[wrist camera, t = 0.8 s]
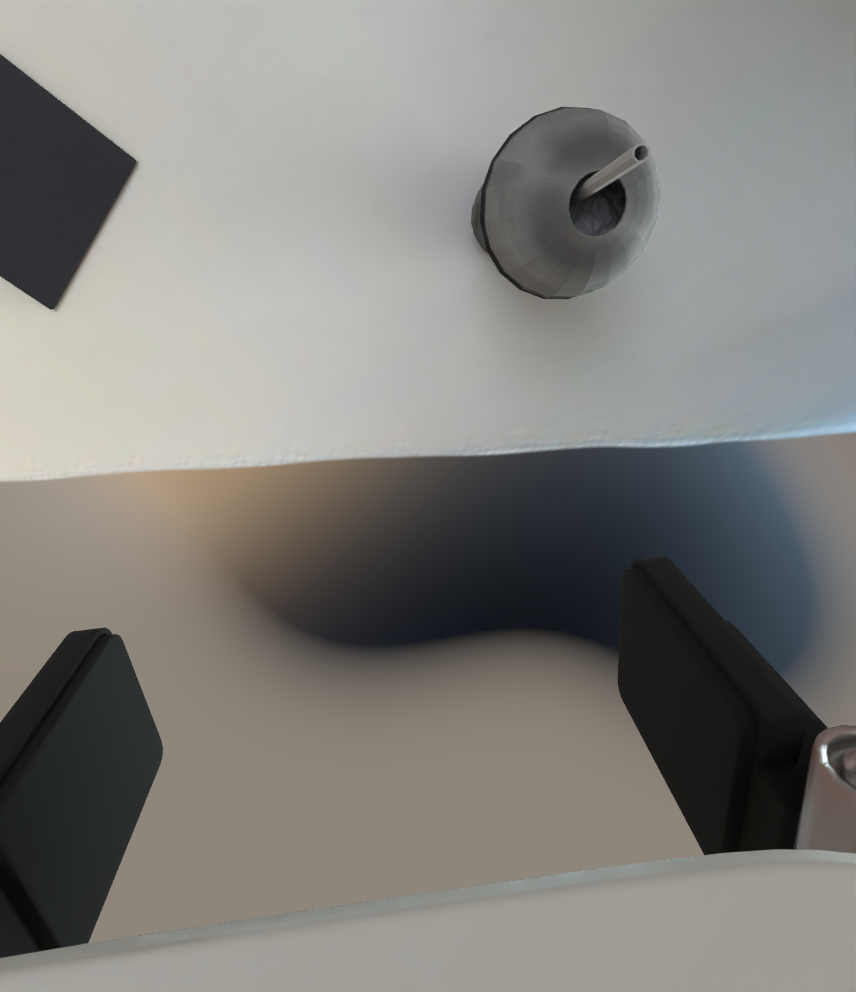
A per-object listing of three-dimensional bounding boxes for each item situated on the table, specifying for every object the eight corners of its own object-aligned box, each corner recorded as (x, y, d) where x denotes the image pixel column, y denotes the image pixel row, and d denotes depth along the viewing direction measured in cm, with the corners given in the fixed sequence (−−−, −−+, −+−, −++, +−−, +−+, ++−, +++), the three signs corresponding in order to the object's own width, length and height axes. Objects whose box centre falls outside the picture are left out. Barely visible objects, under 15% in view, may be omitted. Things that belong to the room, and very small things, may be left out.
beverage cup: (477, 302, 37) (578, 367, 19) (427, 184, 34) (488, 124, 16) (584, 247, 36) (799, 259, 18) (542, 121, 33) (747, -17, 15)
